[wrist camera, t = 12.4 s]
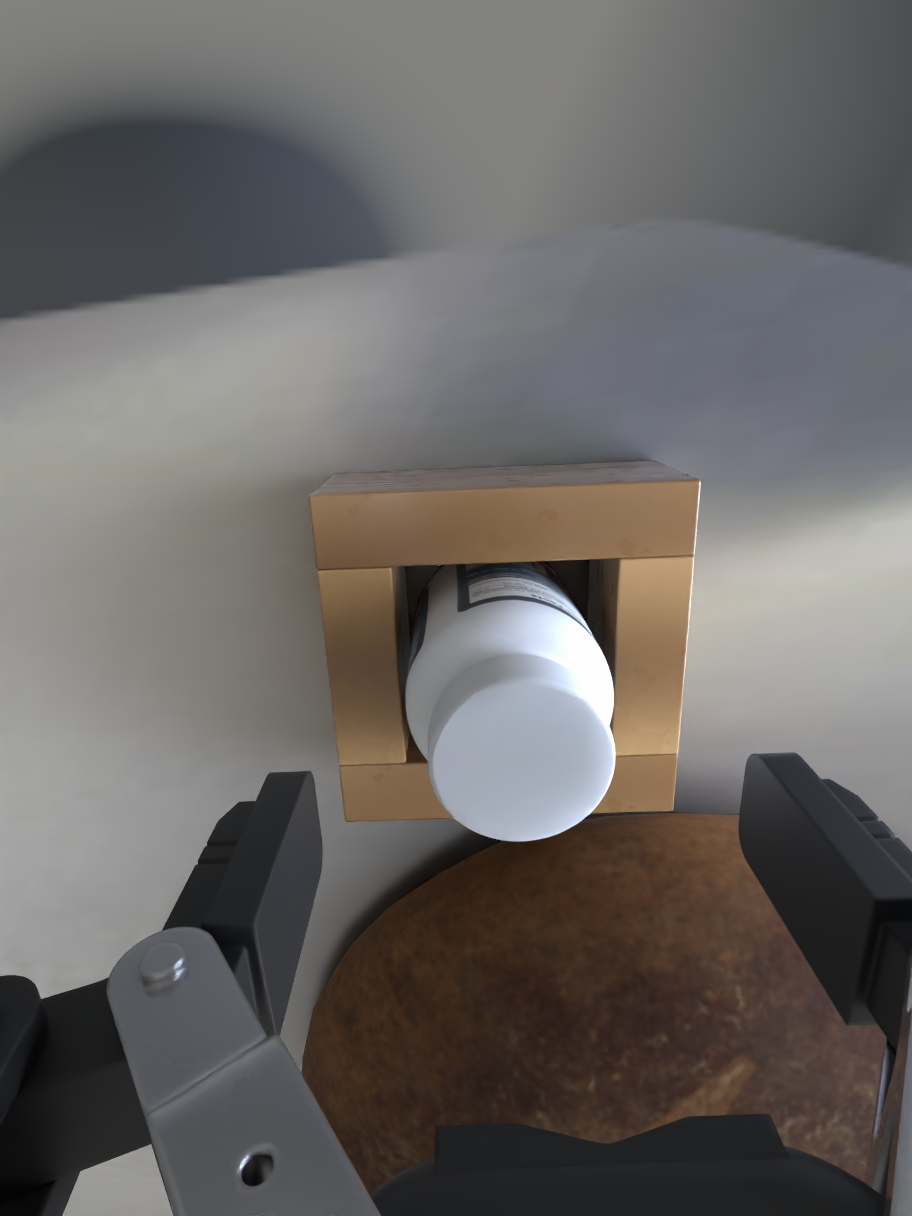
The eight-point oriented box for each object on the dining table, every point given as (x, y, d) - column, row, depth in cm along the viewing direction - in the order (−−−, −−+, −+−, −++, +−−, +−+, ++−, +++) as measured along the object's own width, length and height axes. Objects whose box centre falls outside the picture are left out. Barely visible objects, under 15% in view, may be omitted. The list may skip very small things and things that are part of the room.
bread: (1120, 919, 26) (1423, 1166, 18) (755, 1292, 35) (849, 1577, 26) (471, 660, 23) (480, 823, 14) (236, 1148, 31) (156, 1428, 23)
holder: (334, 473, 20) (307, 494, 17) (656, 460, 20) (702, 479, 17) (362, 752, 24) (344, 822, 20) (639, 742, 24) (673, 812, 20)
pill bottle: (488, 718, 23) (506, 909, 15) (384, 616, 22) (341, 764, 14) (604, 623, 22) (696, 772, 14) (502, 510, 21) (534, 600, 13)
